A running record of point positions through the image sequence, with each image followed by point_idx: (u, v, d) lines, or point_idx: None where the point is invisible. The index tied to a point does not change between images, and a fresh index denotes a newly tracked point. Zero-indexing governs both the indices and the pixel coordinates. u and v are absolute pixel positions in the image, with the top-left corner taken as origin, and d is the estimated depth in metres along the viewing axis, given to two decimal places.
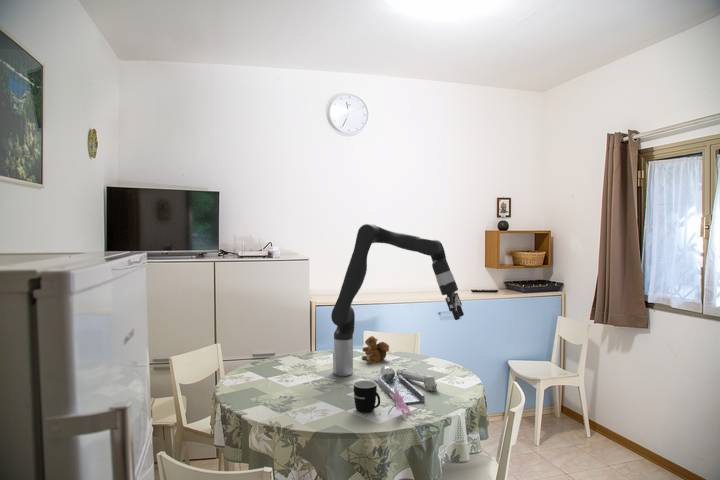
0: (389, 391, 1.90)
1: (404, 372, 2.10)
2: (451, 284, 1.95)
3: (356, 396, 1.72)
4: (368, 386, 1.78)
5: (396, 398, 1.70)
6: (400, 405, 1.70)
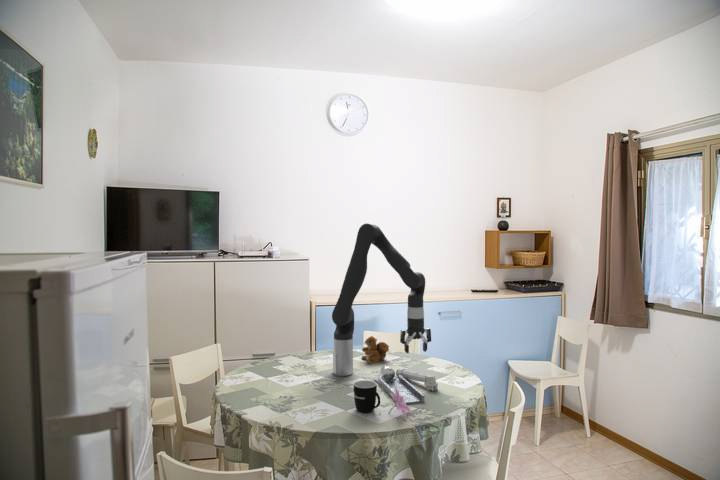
0: (389, 391, 1.90)
1: (404, 372, 2.10)
2: (412, 320, 2.01)
3: (356, 396, 1.72)
4: (368, 386, 1.78)
5: (396, 398, 1.70)
6: (400, 405, 1.71)
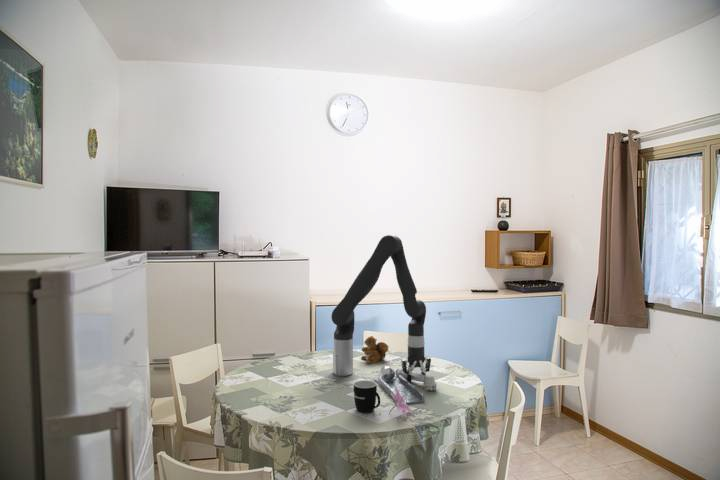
0: (389, 391, 1.90)
1: (403, 372, 2.10)
2: (413, 349, 2.01)
3: (356, 396, 1.72)
4: (368, 386, 1.78)
5: (397, 398, 1.71)
6: (401, 405, 1.71)
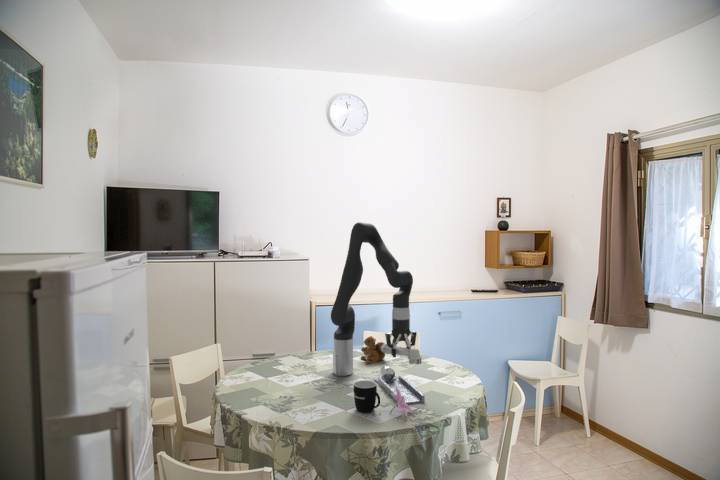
0: (389, 391, 1.90)
1: None
2: (397, 321, 1.91)
3: (356, 396, 1.72)
4: (368, 386, 1.78)
5: (398, 398, 1.71)
6: (402, 405, 1.71)
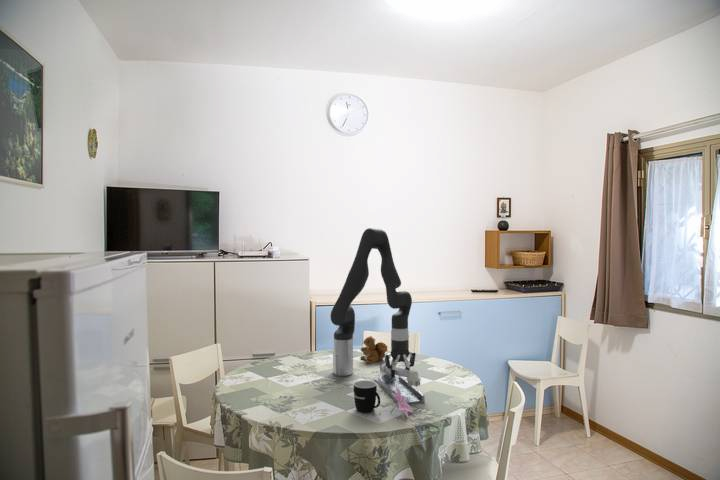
0: (389, 391, 1.90)
1: None
2: (396, 342, 1.90)
3: (356, 396, 1.72)
4: (368, 386, 1.78)
5: (398, 398, 1.71)
6: (402, 405, 1.71)
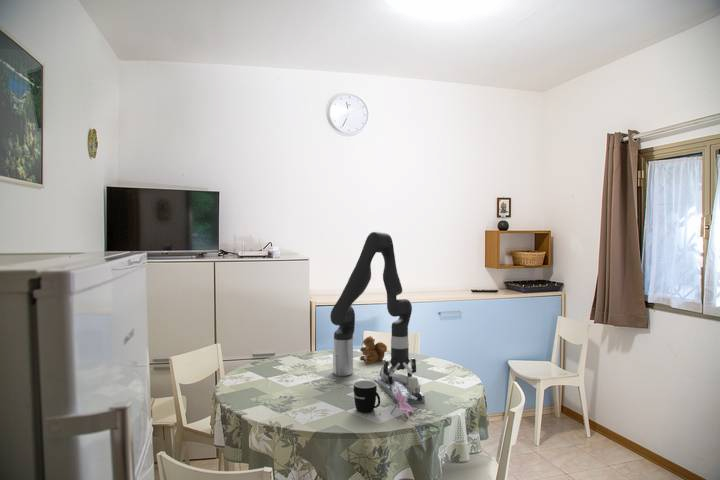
0: (389, 391, 1.90)
1: None
2: (396, 350, 1.90)
3: (356, 396, 1.72)
4: (368, 386, 1.78)
5: (399, 398, 1.71)
6: (403, 405, 1.71)
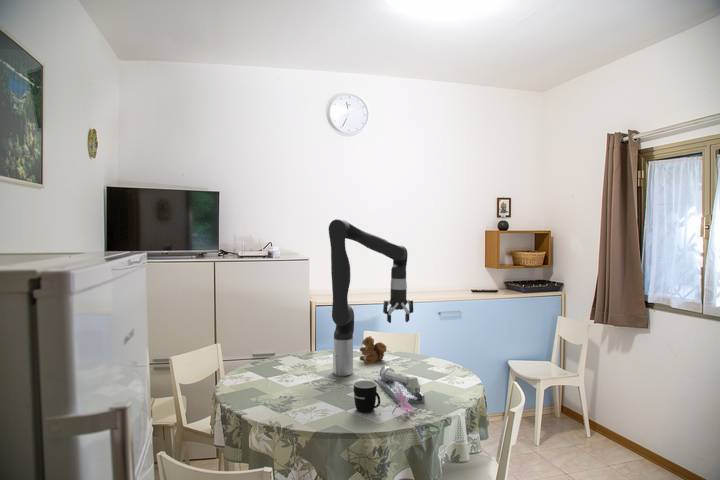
0: (389, 391, 1.90)
1: (387, 373, 1.99)
2: (395, 291, 2.08)
3: (356, 396, 1.72)
4: (368, 386, 1.78)
5: (400, 398, 1.71)
6: (404, 405, 1.71)
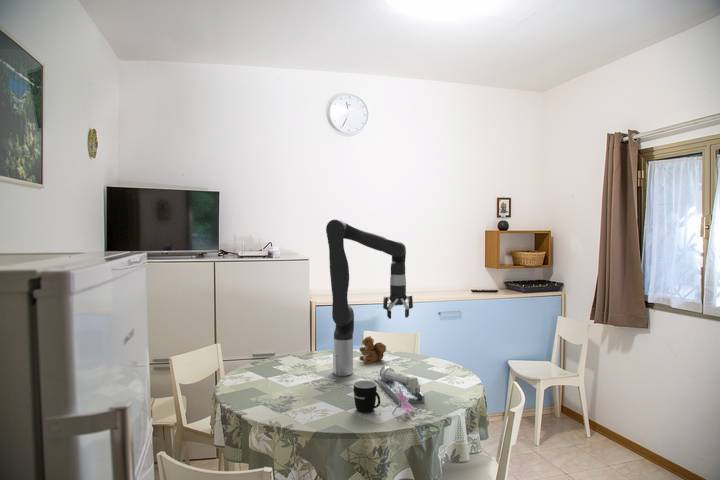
0: (389, 391, 1.90)
1: (387, 373, 1.99)
2: (395, 287, 2.11)
3: (356, 396, 1.72)
4: (368, 386, 1.78)
5: (400, 398, 1.71)
6: (404, 404, 1.71)
